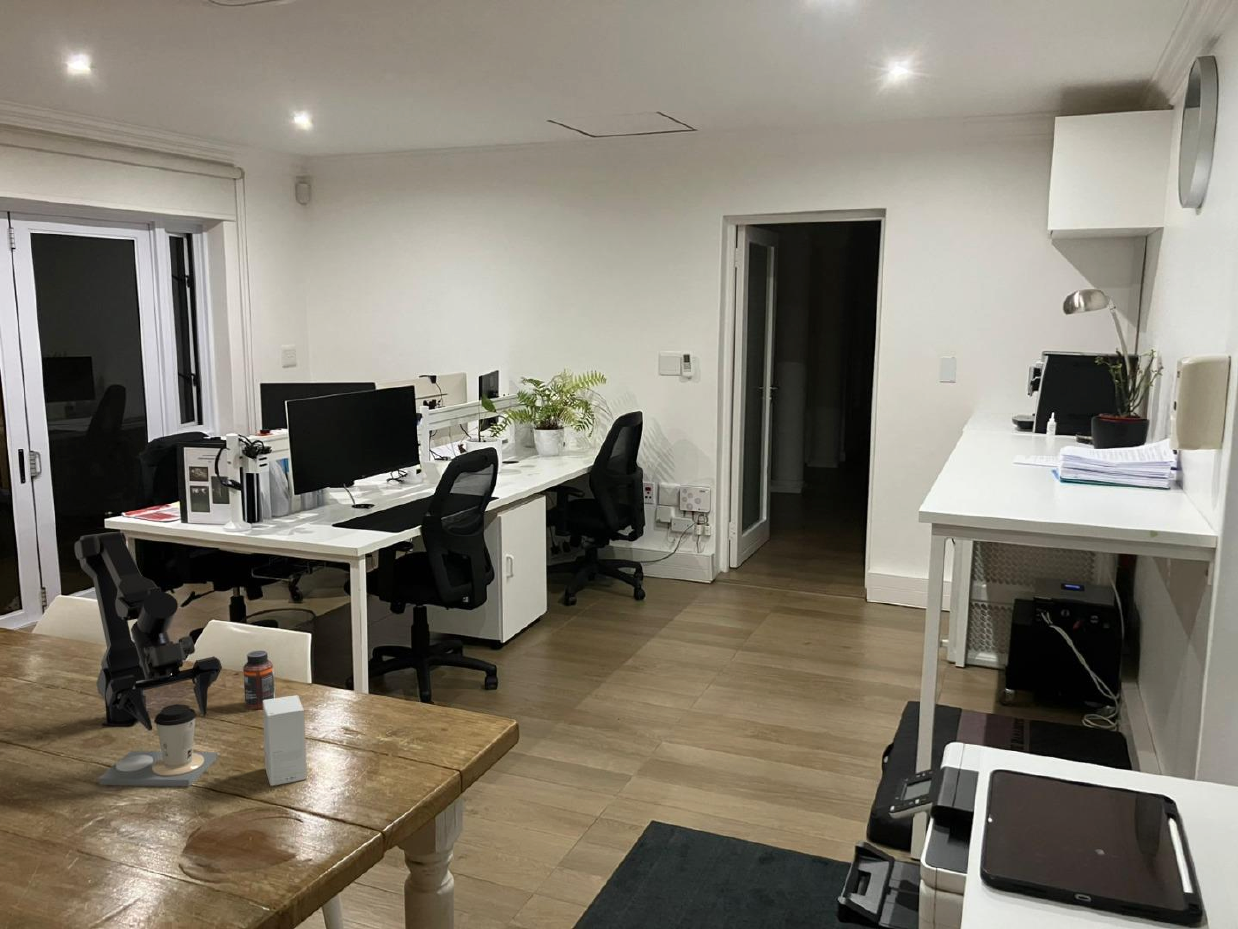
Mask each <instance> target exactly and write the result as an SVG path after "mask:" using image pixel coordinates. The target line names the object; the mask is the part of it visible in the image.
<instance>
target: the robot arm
mask: <svg viewBox="0 0 1238 929" xmlns="http://www.w3.org/2000/svg"><path fill="white" fill-rule="evenodd" d="M74 554H75V557H76V560H79V564H80V567H81V570H83V571H84V572H85V574H87V575H88V577H90V578H91V579H92V582H93V585H94V589H95V590H94V591H95V596H96V600H97V605H98V606H97V607H98V610H99V616H100V620H101V626H102V630H103V635H104V640H105V644H106V650H105V652H104V655H103V657H102V660H101V663H100V666H101V668H100V671H99V673H98V677H97V680H96V686H97V694H99V695H100V696H101V697H102V698H103V699H104V703H105V704H104V707H105V716H106V717H105V720H103V721H102V722H101V725H102V726H126V727H129V726H130V727H132V726H134V725H136V724H138V723H141V725H142V726H144V727H145V729H147V731H148V732H150V731H152V730H153V724H152V721H151V718H150V712H149V710H147V700H146V698H147V697H146V695H144V691H148V690H152V689H157V688H159V687H164V686H168V685H169V686H170V685H173V684H176V683H177V684H178V683H180V682H187V681H190V680H191V681H192V685H193V684H194V686H193V693H194V695H195V699H196V702H197V705H198V710H199V711H200V713H201V715H202V716H201V717H203V718H204V717H206V716H207V710H208V709H207V707H208V706H207V705H208V692H209V691H208V690H209V688H210V687H211V686H212V684H213V683H214V682H216V681H217V679H218V677H219V675H220V673H221V671H222V669H223V666H222V663H221V661H220V659H219V658H217V657H216V656H210V657H206V658H202V659H197V660H195V661H194V664H193V666H192V667H191V668H187V669H183V670H180V668H182V667H183V666H184V661H185V660H187V657H186V656H189V655H193V654H194V653H195V652H196V648H195V644H194V641H193V640H194V639H193V638H192V636H191V635H190V636H184V637H181V638H179V639H178V642H175V643H174V641H172V640H171V639H170V635H169V633H168V631H169V629H171V626H172V624H173V621H174V619H175V616H176V614H177V611H178V608H179V604H178V600H177V598H175V596H173V595H172V594H170V593H167V592H164V591H162V588H161V587H160V586H157V585H156V584H155V582H154V581H153V580H152V579H150V578H148V577H145V576H143V575H142V574H141V571H140V570H139V568H138V565H137V563H136V561H135V560H134V557H133V555H132V553H131V552H130V550H129V547H128V546H127V538H126V534H125V533H124V532H121V531H115V532H114V531H111V532H103V533H95V534H87V535H82V536H80V538H79V540H78V541H75V543H74ZM133 620H134V621H135V620H136V621H135V622H134V623H133V624H132V626H131V629H130V627H129V621H133Z"/></svg>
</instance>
